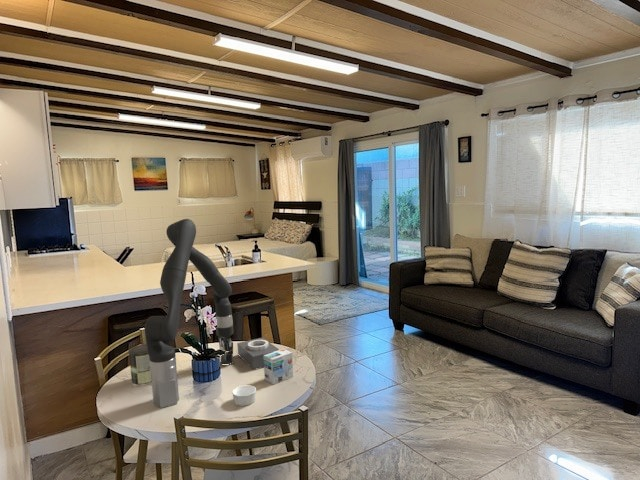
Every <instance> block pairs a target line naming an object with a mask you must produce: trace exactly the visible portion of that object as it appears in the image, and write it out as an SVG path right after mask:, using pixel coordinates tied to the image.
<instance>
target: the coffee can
mask: <svg viewBox="0 0 640 480" xmlns="http://www.w3.org/2000/svg"><path fill="white" fill-rule="evenodd" d="M128 355H129V366H130V375H131V384H132V386H135V387H142V386H143V387H144V386H147V385H152V381H151V370H150V359H149V355H148V351H147V344H140V345H136V346H133V347H131V348H130V349H129V350H128Z"/></svg>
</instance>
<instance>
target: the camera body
mask: <svg viewBox="0 0 640 480" xmlns="http://www.w3.org/2000/svg"><path fill="white" fill-rule="evenodd" d="M236 345H237V355H238V354H239V355H240V356H241V357H242V358H243V359H244V360H245V361H246V362H247V363H248V364H249V365H250V366H251V368H252V369H253V370H254V369H255V370H257V369H256V368H259V369H261V368H260V367H262V368H264V356H263V355H266V354H269V353H272V352H275V351H278V350H280V349H279V348H278V347H277V346H275V345H274V344H272V343H271V342H270V341H268V340H267V339H265V338H264V337H258V338H254V339H249V340H246V341H240V342H237V343H236ZM240 356H239V357H240ZM241 357H240V358H241ZM242 358H241V359H242ZM243 359H242V360H243ZM244 360H243V361H244ZM245 361H244V362H245ZM246 362H245V363H246ZM247 363H246V364H247ZM248 364H247V365H248ZM249 365H248V366H249ZM250 366H249V367H250Z"/></svg>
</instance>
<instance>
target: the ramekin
mask: <svg viewBox="0 0 640 480" xmlns="http://www.w3.org/2000/svg"><path fill="white" fill-rule="evenodd" d="M231 393H232V398H233V403H234V404H235V405H236V406H238V407H246V406H249V405H252V404H254V402H256V394H257V388H256V386H253V385H251V384H250V385H249V384H245V385H243V384H242V385H239V386H237V387H236V386H235V388H234V389H233V390H232V391H231Z"/></svg>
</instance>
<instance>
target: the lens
mask: <svg viewBox="0 0 640 480" xmlns="http://www.w3.org/2000/svg"><path fill="white" fill-rule="evenodd" d="M225 348H227V347H225ZM220 350H224V348H223V346H220V347H219V351H220ZM229 351H230V350H229ZM233 354H234V353H233ZM233 354H231V360H232V361H231V362H230V363H232V362H233V363H234V356H233ZM219 358H220V365H221V364H230V363H227V362H226V354H224V355H222V356H221V357H219Z"/></svg>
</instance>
